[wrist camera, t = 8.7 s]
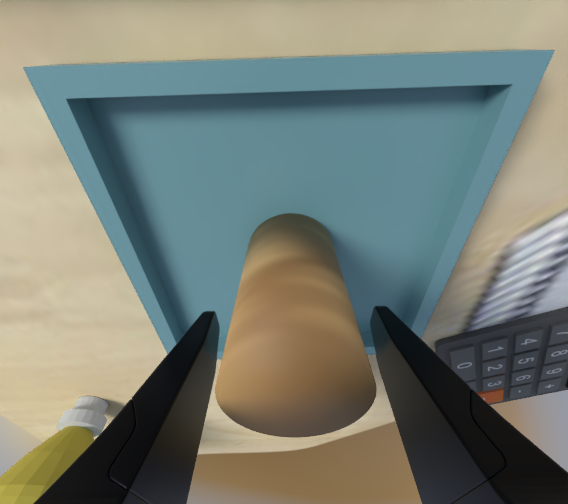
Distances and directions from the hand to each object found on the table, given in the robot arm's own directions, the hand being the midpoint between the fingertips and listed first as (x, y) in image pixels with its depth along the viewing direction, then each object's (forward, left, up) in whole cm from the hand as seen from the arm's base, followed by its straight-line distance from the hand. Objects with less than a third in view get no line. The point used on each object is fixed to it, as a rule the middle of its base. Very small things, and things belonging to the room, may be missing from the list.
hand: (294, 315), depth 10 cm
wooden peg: (0, 0, -4) cm, 4 cm away
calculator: (-19, +11, -5) cm, 23 cm away
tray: (0, 0, -4) cm, 4 cm away
